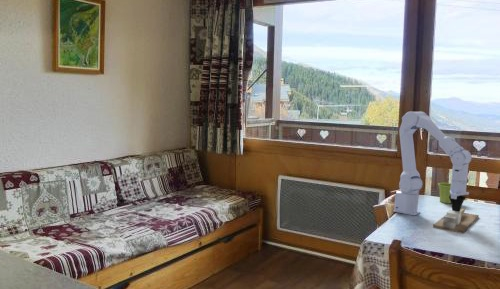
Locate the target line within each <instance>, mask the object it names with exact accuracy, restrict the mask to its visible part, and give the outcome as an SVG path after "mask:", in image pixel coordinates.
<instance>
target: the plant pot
mask: <svg viewBox="0 0 500 289" xmlns="http://www.w3.org/2000/svg"><path fill="white" fill-rule="evenodd" d="M437 185H438V188H439V202H441V203H442V204H446V205H447V204H449V205H450V204H451V201H450V199H449V196H450V195H451V193H450V189H451V182H450V183H449V182H438V183H437Z"/></svg>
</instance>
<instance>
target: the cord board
mask: <svg viewBox="0 0 500 289" xmlns="http://www.w3.org/2000/svg"><path fill="white" fill-rule="evenodd" d="M465 209H466V208H461V209H460V212H461V222H460V223H459V224H458V225H456V218H457V217H453V216H448V215H447V213H446V214H444V216H443V217H441V218H440V219H439V220H438V221H437V222H435V223H433V227H432V228H435V229H439V230H445V231H450V232H453V233H455V232H456V233H460V234H465V232H466V231H467V230H468V229H469V228H470V227H471V226H472V225H473V224H474V223H475V222H476V221H477V220H478V219H479V214H472V213H467V212H466V211H465Z"/></svg>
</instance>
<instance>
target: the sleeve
mask: <svg viewBox="0 0 500 289" xmlns="http://www.w3.org/2000/svg"><path fill="white" fill-rule="evenodd" d="M446 214H447V215H448V216H453V217H457V218H456V225H458V224H459V223H460V222H461V212H459V211H453V210H452V209H449V210H448V211H447V212H446Z"/></svg>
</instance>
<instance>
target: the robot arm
mask: <svg viewBox="0 0 500 289" xmlns="http://www.w3.org/2000/svg"><path fill="white" fill-rule="evenodd" d="M420 128H421V129H424V130H426V131H427V132H428V133H430V135H431V136H432V137H433V138H435V139H436V140H437V141H438V143H439V144H438V145H439V147H440V148H441V150H443V151H444V152H445V153H446V155H448V156H449V158H450V162H451V163H452V168H451V179H450V184H451V189H450V193H451V195H450V196H449V199H450V201H451V203H450V205H451V210H453V211H459V212H460V210H461V209H462V206H463V204H464V202H465V201H466V198H467V197H466V196H465V195H467V196H468V195H469V194H470V192H469V191H467V184H468V173H469V164H470V162H472V158H473V157H472V154H471V152H470V151H469V150H467V149H464V147H463V146H461V145H460V144H459V143H458V142H456V138H455V137H452V136H450V135H449V136H446V135H445V134H444V132H443V131H442V130H441V129H440V128H439V126H437V125H436V124H435V122H434V121H433V120H432V119H431V117H430V115H428V114H427V113H426V112H424V111H421V110H420V111H411V110H410V111H407V112H406V113H405V114H404V115H403V116H401V124H400V126H399V130H398V135H399V141H400V142H399V144H400V152H401V161H402V163H401V165H402V172H401V174H400V176H399V178H400V180H399V183H398V187H399V189H400V190H397V191H396V193H395V195H394V205H393V211H392V212H395V213H399V214H405V215H411V216H416V215H419V214H420V213H421V210H418V207H419V197H420V190H421V189H422V188H423V184H424V182H423V180H422V179H421V174H420V172H419V171H418V170H417V164H416V155H415V152H416V151H415V145H414V134H415V132H416V131H417V130H418V129H420Z"/></svg>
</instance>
